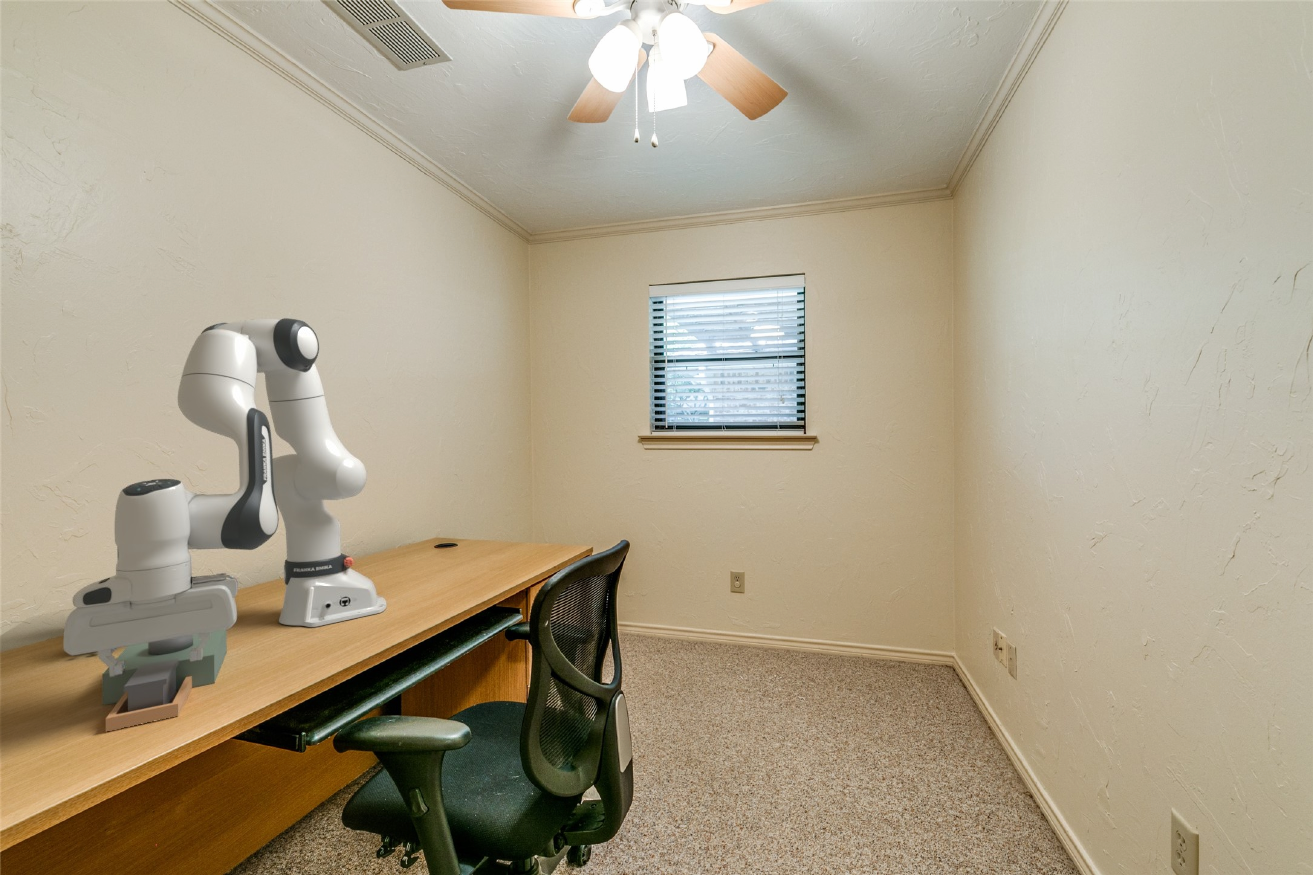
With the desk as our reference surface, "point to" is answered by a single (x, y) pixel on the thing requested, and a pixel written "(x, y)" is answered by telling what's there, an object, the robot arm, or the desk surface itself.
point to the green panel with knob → (185, 675)
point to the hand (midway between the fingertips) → (158, 666)
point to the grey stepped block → (152, 685)
